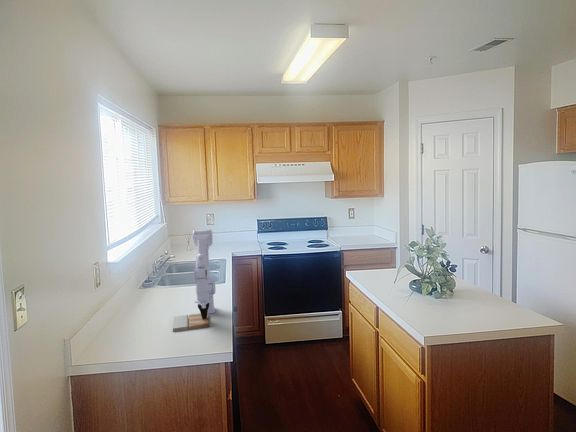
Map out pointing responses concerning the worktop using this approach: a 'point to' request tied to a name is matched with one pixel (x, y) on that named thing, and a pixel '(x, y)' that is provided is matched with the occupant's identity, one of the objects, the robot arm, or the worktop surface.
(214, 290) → the robot arm
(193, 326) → the tan flat block
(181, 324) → the floor board
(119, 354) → the worktop surface
